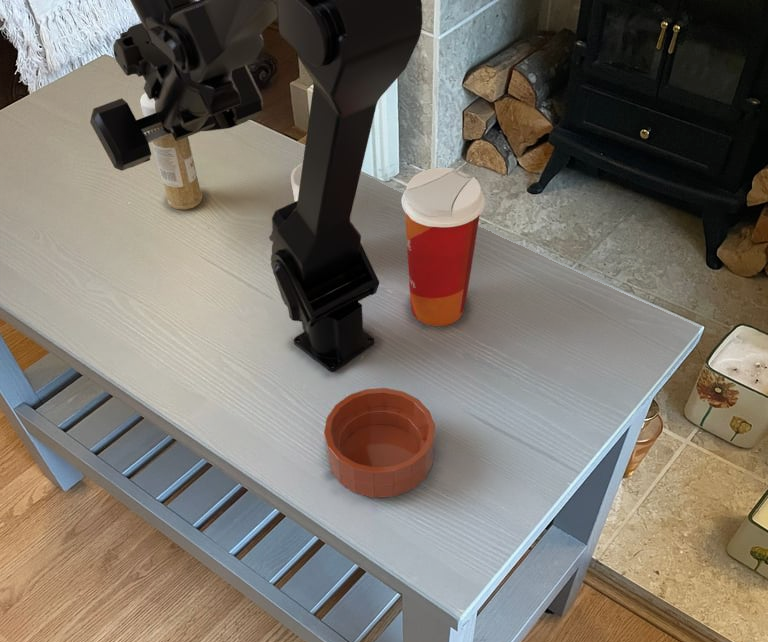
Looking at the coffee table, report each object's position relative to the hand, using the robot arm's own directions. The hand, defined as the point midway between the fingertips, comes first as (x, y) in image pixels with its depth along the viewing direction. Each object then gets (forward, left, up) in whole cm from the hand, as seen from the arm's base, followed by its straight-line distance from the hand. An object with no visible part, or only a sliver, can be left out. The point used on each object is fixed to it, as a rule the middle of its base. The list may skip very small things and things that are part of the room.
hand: (167, 140), depth 97 cm
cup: (-23, -5, -8) cm, 25 cm away
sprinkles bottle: (-1, 0, -8) cm, 8 cm away
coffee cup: (-38, -8, -8) cm, 39 cm away
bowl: (-49, +12, -8) cm, 51 cm away
